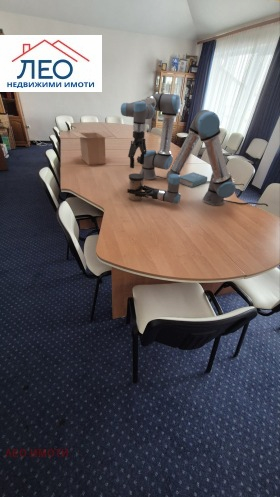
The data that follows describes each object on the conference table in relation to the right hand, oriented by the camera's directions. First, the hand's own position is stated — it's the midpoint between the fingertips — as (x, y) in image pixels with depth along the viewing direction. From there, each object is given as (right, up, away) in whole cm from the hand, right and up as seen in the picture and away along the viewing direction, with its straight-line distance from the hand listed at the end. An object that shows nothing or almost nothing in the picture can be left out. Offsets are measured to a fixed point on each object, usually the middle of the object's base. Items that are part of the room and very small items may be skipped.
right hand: (130, 188), depth 164 cm
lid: (+5, +7, -7) cm, 11 cm away
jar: (+4, -7, +3) cm, 8 cm away
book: (+55, +16, +38) cm, 69 cm away
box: (-43, +49, +73) cm, 98 cm away
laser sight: (+14, +49, +79) cm, 94 cm away
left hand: (+5, +12, -11) cm, 18 cm away
